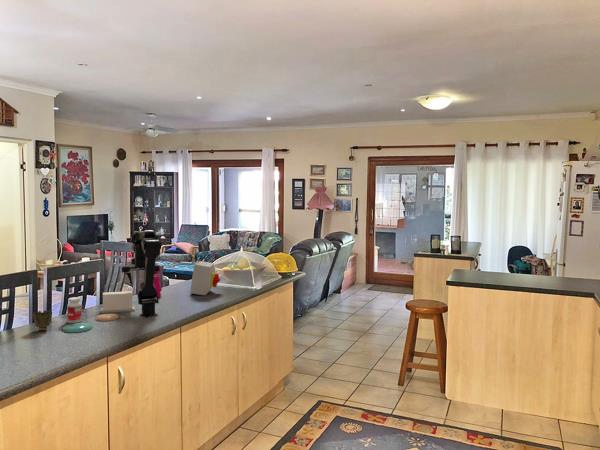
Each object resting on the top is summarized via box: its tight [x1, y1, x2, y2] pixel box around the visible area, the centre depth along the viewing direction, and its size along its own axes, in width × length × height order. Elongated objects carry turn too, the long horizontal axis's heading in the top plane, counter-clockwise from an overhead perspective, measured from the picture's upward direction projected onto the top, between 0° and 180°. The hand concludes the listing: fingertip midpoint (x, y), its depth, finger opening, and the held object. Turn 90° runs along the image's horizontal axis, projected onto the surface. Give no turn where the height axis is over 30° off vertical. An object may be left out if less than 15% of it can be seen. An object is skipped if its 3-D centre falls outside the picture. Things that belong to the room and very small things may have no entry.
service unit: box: [100, 290, 136, 314], centre depth 249 cm, size 7×16×9 cm, turn 110°
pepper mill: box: [153, 261, 163, 298], centre depth 282 cm, size 7×7×20 cm
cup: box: [32, 309, 53, 332], centre depth 212 cm, size 8×7×8 cm
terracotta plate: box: [95, 313, 120, 322], centre depth 234 cm, size 10×10×1 cm
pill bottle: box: [66, 296, 83, 324], centre depth 227 cm, size 6×6×11 cm
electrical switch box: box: [189, 260, 221, 296], centre depth 294 cm, size 15×15×20 cm
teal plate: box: [62, 322, 94, 334], centre depth 216 cm, size 12×12×1 cm
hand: (140, 284), depth 256 cm, fingers open, 9 cm apart
